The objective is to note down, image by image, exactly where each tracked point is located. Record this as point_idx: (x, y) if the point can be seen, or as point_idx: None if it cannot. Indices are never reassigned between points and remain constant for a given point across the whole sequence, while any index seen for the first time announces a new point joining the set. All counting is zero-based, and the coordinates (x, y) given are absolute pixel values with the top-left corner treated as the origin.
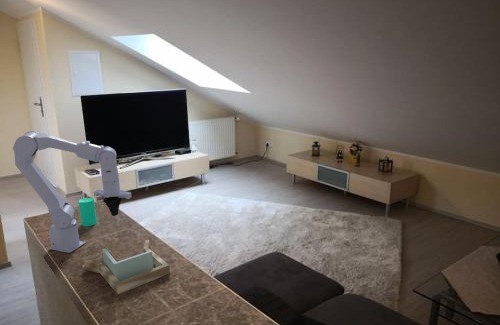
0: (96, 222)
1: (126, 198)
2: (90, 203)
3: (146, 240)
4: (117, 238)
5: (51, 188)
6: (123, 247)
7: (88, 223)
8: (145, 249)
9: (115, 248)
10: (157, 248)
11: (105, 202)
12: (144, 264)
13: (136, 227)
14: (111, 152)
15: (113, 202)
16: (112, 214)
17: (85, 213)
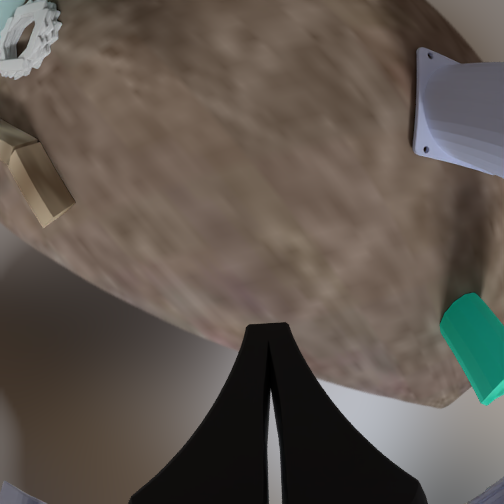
0: (440, 326)
1: (20, 496)
2: (491, 380)
3: (48, 219)
4: (278, 241)
5: None
6: (173, 164)
7: (463, 305)
8: (5, 146)
9: (208, 139)
10: None
11: (373, 476)
12: None
13: None
14: None
15: (157, 500)
16: (273, 332)
17: (491, 331)
